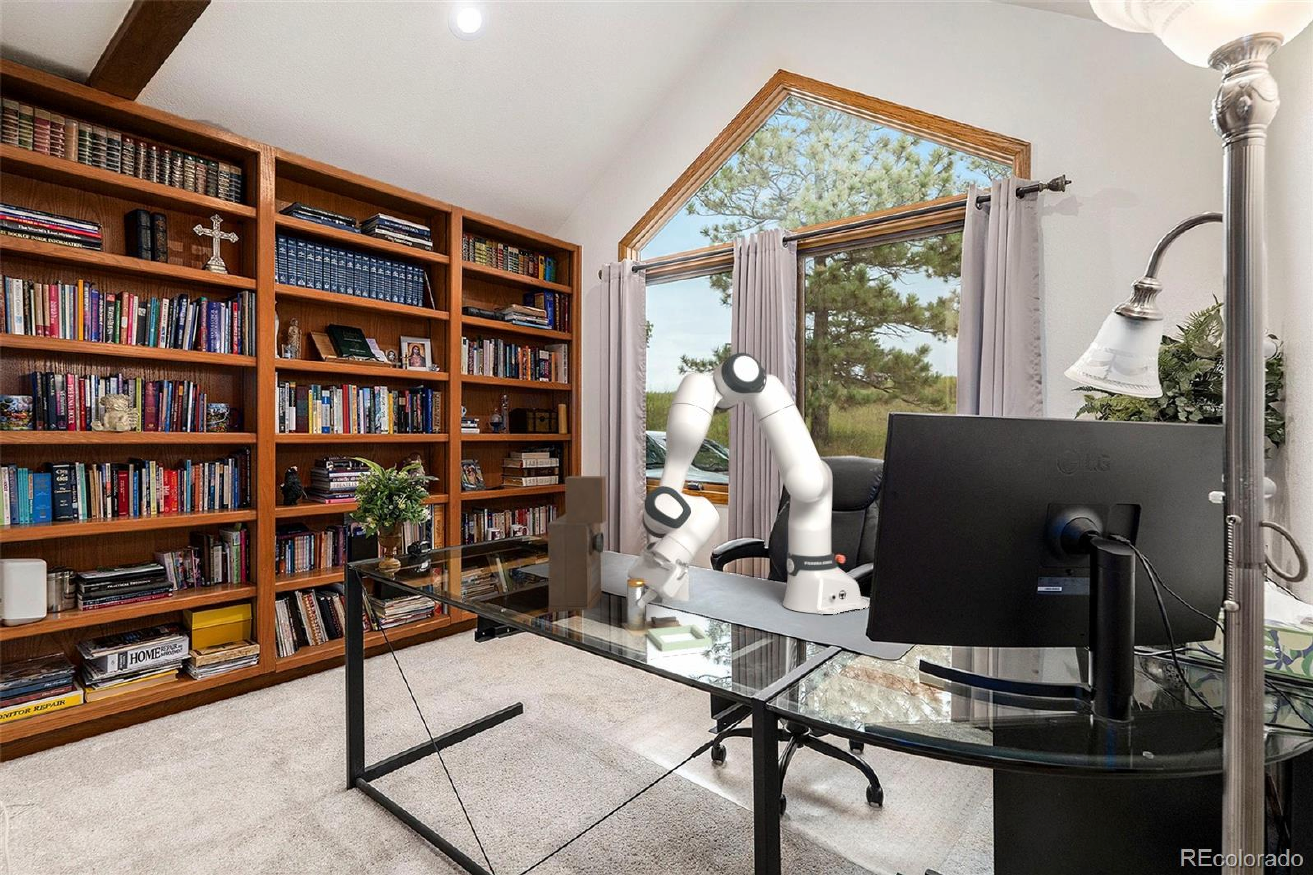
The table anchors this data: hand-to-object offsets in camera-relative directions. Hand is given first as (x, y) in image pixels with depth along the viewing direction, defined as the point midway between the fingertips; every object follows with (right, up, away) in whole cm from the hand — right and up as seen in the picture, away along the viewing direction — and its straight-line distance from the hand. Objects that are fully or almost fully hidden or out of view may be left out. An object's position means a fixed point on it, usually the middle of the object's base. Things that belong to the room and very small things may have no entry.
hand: (633, 603), depth 152 cm
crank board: (+4, -7, +1) cm, 8 cm away
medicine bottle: (+11, -7, +28) cm, 31 cm away
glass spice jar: (+1, -6, 0) cm, 6 cm away
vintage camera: (-16, -7, +26) cm, 31 cm away
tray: (+10, -7, -9) cm, 15 cm away
